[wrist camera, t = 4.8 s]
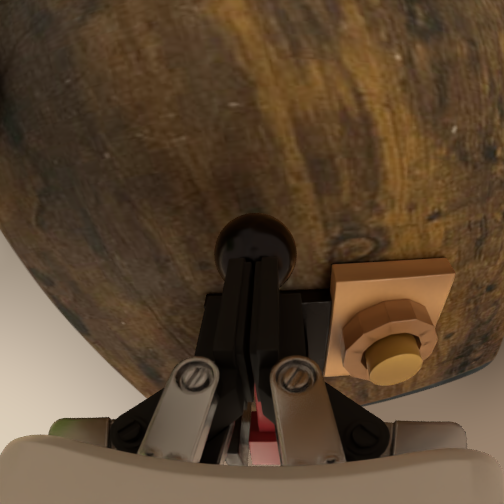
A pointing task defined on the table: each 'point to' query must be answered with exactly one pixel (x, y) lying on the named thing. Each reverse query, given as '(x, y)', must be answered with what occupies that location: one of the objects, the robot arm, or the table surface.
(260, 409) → the lever handle
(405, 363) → the bell button
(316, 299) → the lever base
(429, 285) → the push button base
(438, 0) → the table surface
